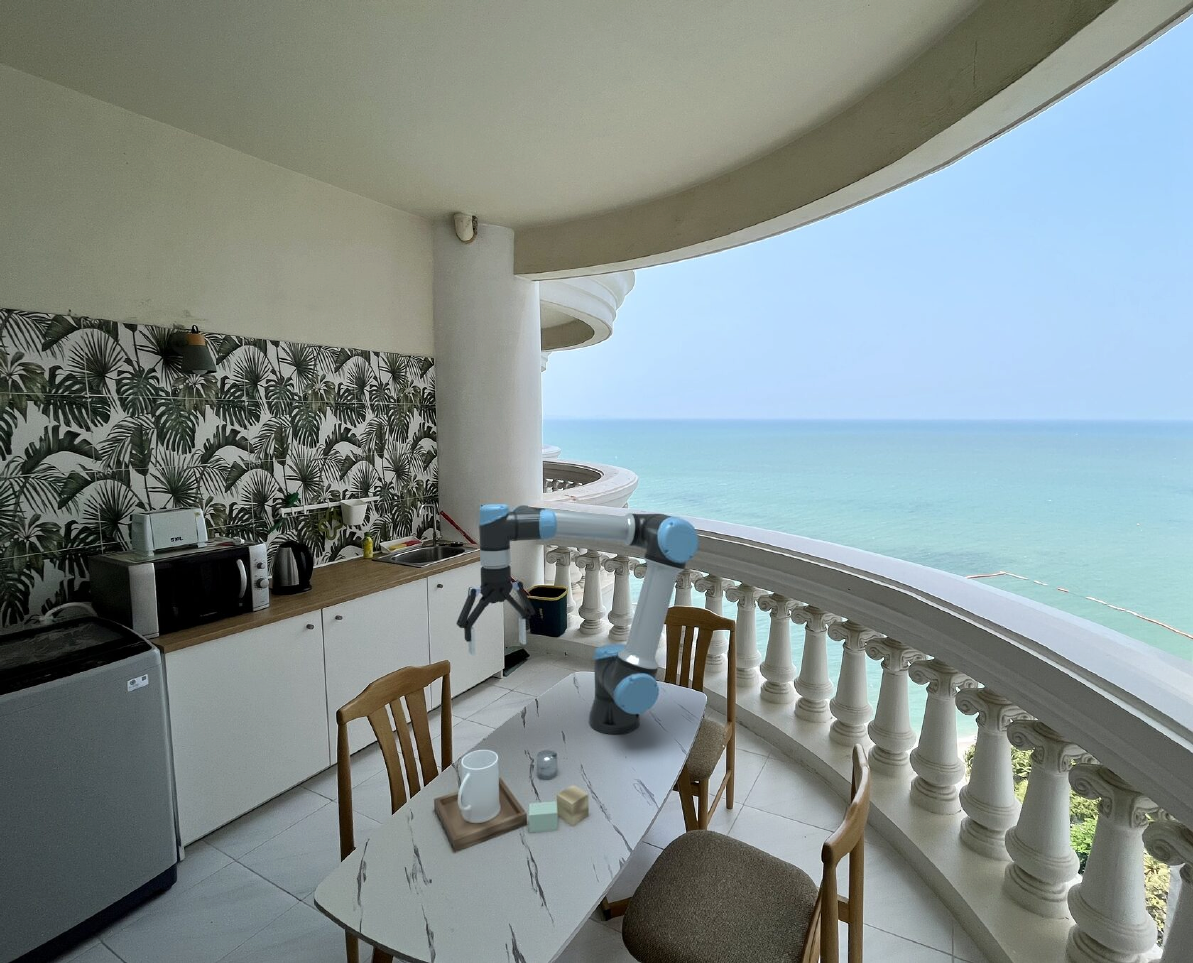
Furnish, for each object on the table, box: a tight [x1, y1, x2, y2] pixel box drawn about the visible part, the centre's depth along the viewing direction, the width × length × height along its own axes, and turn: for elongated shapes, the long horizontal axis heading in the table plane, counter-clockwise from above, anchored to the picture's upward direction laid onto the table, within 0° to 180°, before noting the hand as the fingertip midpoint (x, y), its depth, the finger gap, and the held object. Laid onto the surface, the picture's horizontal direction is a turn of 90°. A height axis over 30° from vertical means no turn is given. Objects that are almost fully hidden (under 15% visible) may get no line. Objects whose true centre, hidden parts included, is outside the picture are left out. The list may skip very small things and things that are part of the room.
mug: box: [458, 749, 500, 823], centre depth 123 cm, size 12×8×12 cm
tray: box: [433, 777, 528, 853], centre depth 124 cm, size 16×16×2 cm
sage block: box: [528, 800, 559, 834], centre depth 121 cm, size 6×4×4 cm, turn 97°
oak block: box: [556, 784, 590, 827], centre depth 124 cm, size 5×5×5 cm
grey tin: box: [536, 749, 558, 781], centre depth 140 cm, size 5×5×5 cm
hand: (497, 648), depth 142 cm, fingers open, 13 cm apart
